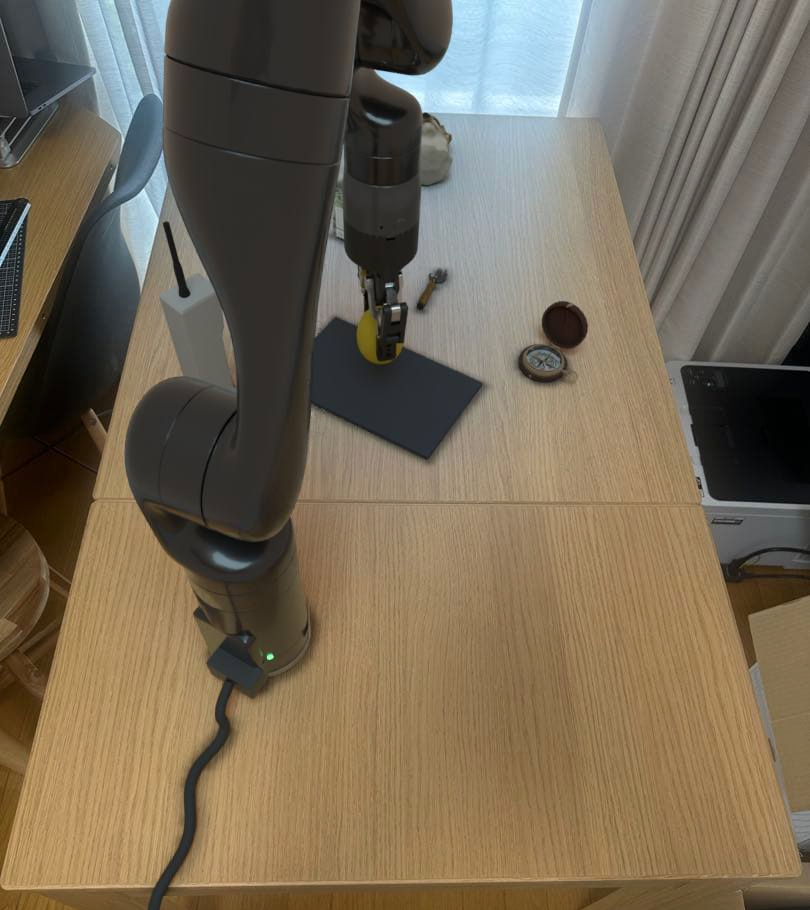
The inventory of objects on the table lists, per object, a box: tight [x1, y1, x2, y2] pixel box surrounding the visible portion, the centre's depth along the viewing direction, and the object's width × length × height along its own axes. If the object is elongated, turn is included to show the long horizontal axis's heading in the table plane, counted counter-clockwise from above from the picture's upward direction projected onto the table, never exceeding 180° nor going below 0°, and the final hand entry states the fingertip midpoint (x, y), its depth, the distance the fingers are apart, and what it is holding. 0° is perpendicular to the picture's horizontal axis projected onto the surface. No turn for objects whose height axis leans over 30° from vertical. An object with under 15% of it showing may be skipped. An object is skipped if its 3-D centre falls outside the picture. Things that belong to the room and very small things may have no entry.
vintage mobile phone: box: [158, 220, 237, 393], centre depth 79 cm, size 4×5×25 cm
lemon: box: [357, 306, 405, 364], centre depth 86 cm, size 6×6×8 cm
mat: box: [311, 316, 483, 461], centre depth 92 cm, size 14×22×1 cm, turn 60°
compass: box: [518, 300, 589, 382], centre depth 93 cm, size 8×8×7 cm
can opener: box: [416, 267, 449, 310], centre depth 102 cm, size 9×2×1 cm, turn 153°
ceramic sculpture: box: [420, 111, 453, 186], centre depth 114 cm, size 11×9×15 cm
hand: (379, 339), depth 86 cm, fingers closed on lemon, 5 cm apart
